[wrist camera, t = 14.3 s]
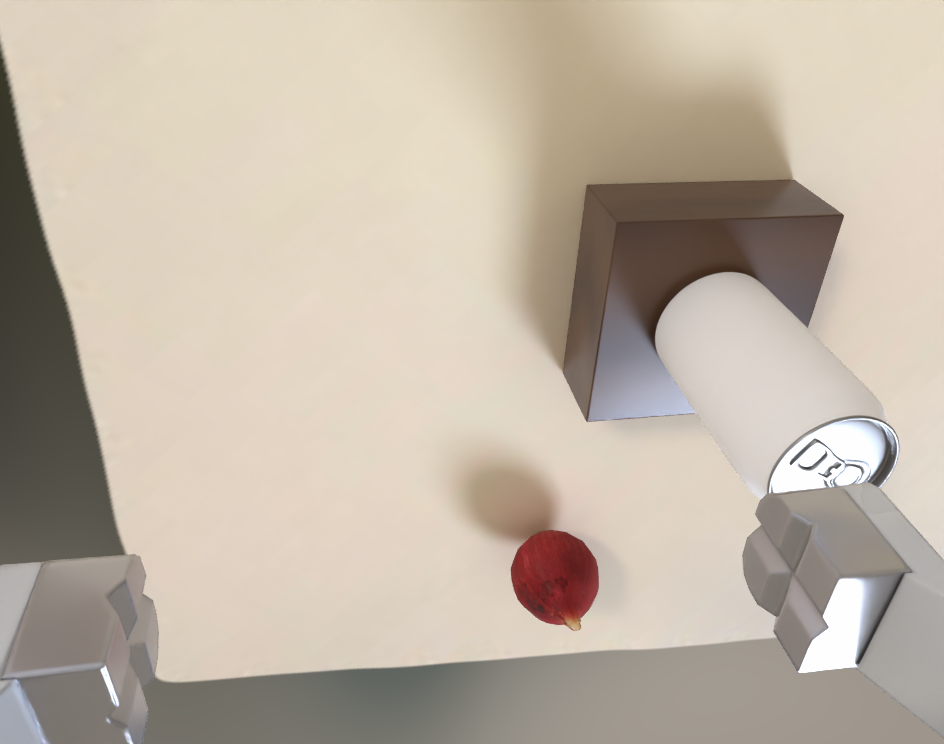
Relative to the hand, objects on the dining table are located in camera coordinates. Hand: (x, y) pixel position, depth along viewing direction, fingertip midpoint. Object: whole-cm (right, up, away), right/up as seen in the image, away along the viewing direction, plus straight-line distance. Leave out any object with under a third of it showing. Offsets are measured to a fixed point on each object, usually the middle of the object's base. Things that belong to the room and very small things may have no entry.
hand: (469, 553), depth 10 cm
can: (+13, +5, +32) cm, 34 cm away
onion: (+5, -9, +46) cm, 47 cm away
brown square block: (+12, +8, +36) cm, 38 cm away
